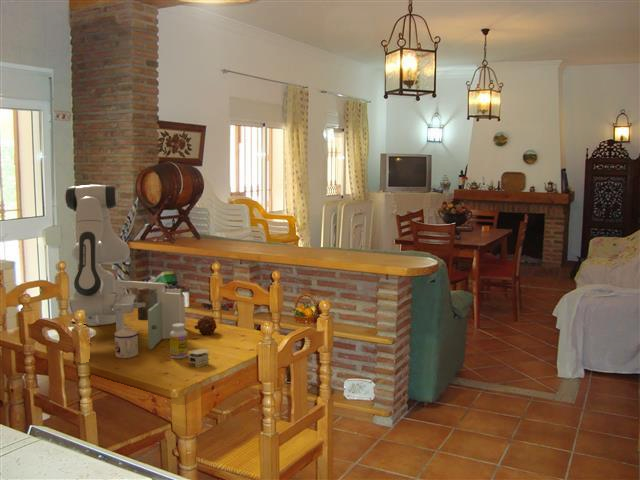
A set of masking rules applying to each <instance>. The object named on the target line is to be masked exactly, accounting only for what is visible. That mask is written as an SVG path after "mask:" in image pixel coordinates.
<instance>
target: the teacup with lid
mask: <svg viewBox="0 0 640 480" xmlns="http://www.w3.org/2000/svg"><path fill="white" fill-rule="evenodd" d="M138 335H139V332H138V330H135V329H132V328H130V327H129V326H128V325H124V327H123V329H121V330H120V331H117V332H116V331H115V332H114V334H113V336H114V350H115V351H114V352H115V357H116V358H118V359H130V358H134V357H136V356H137V355H139V340H138V339H139V337H138Z"/></svg>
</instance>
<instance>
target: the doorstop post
mask: <svg viewBox="0 0 640 480" xmlns="http://www.w3.org/2000/svg"><path fill="white" fill-rule="evenodd" d="M136 292H137V293H136V298H137V301H138V303H141V302H145V303H146V306H145V307H140V308H137V319H138V321H148V310H149V309H150V292H149V288H136Z"/></svg>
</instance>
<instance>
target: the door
mask: <svg viewBox="0 0 640 480" xmlns="http://www.w3.org/2000/svg"><path fill="white" fill-rule="evenodd" d="M147 331H148V334H147V335H148V349H149V350H152V349H153V348H154V347H155V346H156V345H157V344H158V343H159V342H160V341H161V340H162V338H163V334H162V303H161V302H157V303H156V304H155V305H154V306H153V307H151V308H150V309H149V310H148V320H147Z"/></svg>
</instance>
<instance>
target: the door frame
mask: <svg viewBox="0 0 640 480" xmlns="http://www.w3.org/2000/svg"><path fill="white" fill-rule="evenodd" d="M114 287H115V293H117V294H124V288H127V289H128V288H130V289H138V288H149V289H154V290H157V302H161V303H162V334H163V338H162V339H167V340H168V339H169V340H170V333H171V331H173V328H172V325H173V324H177V323H182V319H181V293H166V292H165V288H166V283H165V282H151V281H150V282H149V281H137V280H136V281H135V280H123V279H117V280H116V279H115V281H114ZM124 326H125V313H116V322H115V328H116V331H115V332H117V331H120V330H121V329H123V327H124ZM162 339H161V340H162Z"/></svg>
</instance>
